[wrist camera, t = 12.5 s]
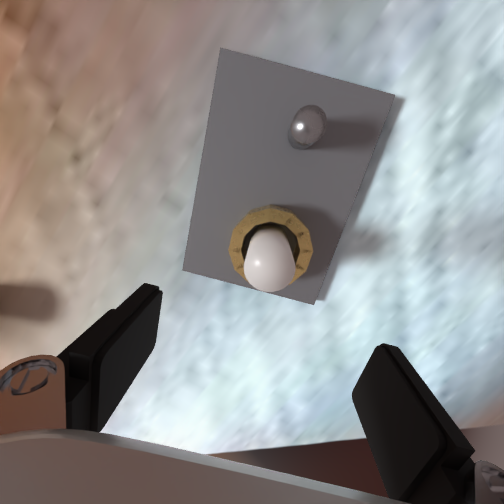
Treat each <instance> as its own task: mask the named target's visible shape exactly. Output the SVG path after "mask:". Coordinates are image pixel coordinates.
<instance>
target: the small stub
mask: <svg viewBox="0 0 504 504" xmlns="http://www.w3.org/2000/svg"><path fill="white" fill-rule="evenodd" d="M326 128H327V117H326V114H325V112H324V111H323V110H322V109H321V108H320V107H318V106H316V105H306V106H304V107H302V108H301V109H299V110H298V111H297V113H296V114H295V116H294V118H293V120H292V123H291V125H290V128H289V131H288V141H289V143H290V145H291V146H292V147H293V148H295V149H298V150H303V149H306V148H308V147H309V146H311V145H312V144H313V143H315V142H316V141H318V140H319V139H320V138H321V137H322V136H323V135H324V133H325V131H326Z"/></svg>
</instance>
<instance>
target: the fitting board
mask: <svg viewBox="0 0 504 504" xmlns="http://www.w3.org/2000/svg"><path fill="white" fill-rule="evenodd" d="M394 97H395V95H394V94H390V93H386V92H382V91H379V90H375V89H371V88H368V87H364V86H360V85H357V84H353V83H349V82H346V81H342V80H338V79H334V78H331V77H327V76H323V75H320V74H316V73H312V72H309V71H305V70H301V69H298V68H294V67H290V66H287V65H283V64H279V63H275V62H272V61H268V60H264V59H261V58H257V57H253V56H250V55H246V54H242V53H239V52H235V51H231V50H227V49H224V48H220V54H219V59H218V65H217V71H216V77H215V83H214V89H213V94H212V100H211V106H210V112H209V118H208V124H207V130H206V135H205V141H204V147H203V153H202V159H201V165H200V170H199V176H198V182H197V188H196V194H195V200H194V205H193V211H192V217H191V223H190V229H189V235H188V241H187V246H186V252H185V258H184V264H183V271H187V272H191V273H195V274H198V275H202V276H206V277H210V278H213V279H217V280H221V281H225V282H229V283H232V284H236V285H240V286H244V287H248V288H251V289H255V290H258V289H256V288H255V287H253V286H252V285H251V284H249V283H248V282H247V281H246V280H245V279H244V278H243V277H242V276H241V275H240V274H239V273H237V272H236V271H235V270H234V267H233V263H232V260H231V257H230V254H229V251H228V249H229V245H230V241H231V236H232V232H233V229H234V228H235V226H236V225H237V223H238V222H239V221H240V220H241V219H242V218H243V217H244V216H245V215H246V214H247V213H248V212H249V211H250V210H251V209H255V208H259V207H262V206H266V205H270V204H272V205H275V206H279V207H283V208H287V209H290V210H291V211H292V212H293V213H294V214H295V215H296V216H297V217H298V218H299V219H300V220H301V221H302V222H303V223H304V224H305V225H306V227H307V228H308V230H309V234H310V238H311V243H312V248H313V253H312V256H311V259H310V262H309V265H308V267H307V270H306V272H304V273H303V274H302V275H301V276H300V277H299V278H297V279H296V280H295V281H294V282H293V283H292V284H290V285H287V286H286V287H285V288H283V289H281V290H279V291H275V292H266V293H270V294H274V295H278V296H282V297H285V298H289V299H293V300H297V301H301V302H304V303H308V304H312V305H314V304H315V301H316V298H317V296H318V293H319V291H320V288H321V285H322V283H323V280H324V278H325V275H326V273H327V270H328V267H329V265H330V262H331V260H332V257H333V255H334V252H335V249H336V247H337V244H338V242H339V239H340V236H341V234H342V231H343V229H344V226H345V224H346V221H347V218H348V216H349V213H350V211H351V208H352V205H353V203H354V200H355V198H356V195H357V193H358V190H359V187H360V185H361V182H362V180H363V177H364V174H365V172H366V169H367V167H368V164H369V162H370V159H371V156H372V154H373V151H374V149H375V146H376V143H377V141H378V138H379V136H380V133H381V131H382V128H383V125H384V123H385V120H386V118H387V115H388V112H389V110H390V107H391V105H392V102H393V100H394ZM306 105H316V106H318V107H320V108H321V109H322V110H323V111H324V112H325V114H326V117H327V128H326V131H325V133H324V135H323V136H322V137H321V138H320V139H319V140H318V141H316V142H315V143H313V144H312V145H311V146H309V147H308V148H306V149H303V150H298V149H295V148H293V147H292V146H291V145H290V143H289V141H288V131H289V128H290V125H291V123H292V120H293V118H294V116H295V114H296V113H297V111H298V110H299V109H301V108H302V107H304V106H306ZM263 224H275V225H278V226H279V227H281V228H282V229H283V230H284V232H285V233H286V236H287V239H288V242H289V245H290V249H291V252H292V255H293V253H294V250H295V247H296V244H297V241H296V236H295V234H294V233H293V232H292V231H291V230H290V229H289V228H288V227H287V226H286V225H282V224H279V223H275V222H271V221H270V222H266V223H262V224H259V225H255V226H254V227H253V228H252V229H251V230H250V231H249V232H248V233H247V234H246V236H245V240H244V244H245V247H246V251H248V248H249V244H250V240H251V237H252V234H253V232H254V231H255V230H256V229H257V228H258V227H259V226H261V225H263ZM259 291H261V290H259ZM263 292H264V291H263Z"/></svg>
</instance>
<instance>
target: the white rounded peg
mask: <svg viewBox="0 0 504 504" xmlns="http://www.w3.org/2000/svg"><path fill="white" fill-rule="evenodd" d="M244 274H245V277H246V279H247V280H248V282H249V283H250V284H251V285H252V286H253V287H255V288H256V289H258V290H261V291H264V292H275V291H279V290H281V289H283V288H285V287H286V286H287V285H288V284H289V283H290V282H291V281H292V279H293V277H294V275H295V262H294V258H293V255H292V252H291V249H290V245H289V242H288V239H287V236H286V233H285V232H284V230H283V229H282V228H281V227H279V226H278V225H275V224H263V225H261V226H259V227H258V228H257V229H256V230H255V231H254V232H253V234H252V237H251V240H250V244H249V248H248V251H247V255H246V259H245V262H244Z"/></svg>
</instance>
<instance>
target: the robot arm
mask: <svg viewBox="0 0 504 504" xmlns="http://www.w3.org/2000/svg"><path fill="white" fill-rule="evenodd" d="M162 295H163V292H162V291H161V290H159V287H158V286H155V285H151V284H147V283H144V284H143V285H142V286H140V287H139V288H138V289H137V290H136V291H135V292H134V293H133V294H132V295H131V296H129V297H128V298H127V299H126V300H125V301H124V302H123V303H122V304H121V305H120V306H119V307H117V308H116V309H111V310H109V311H108V312H107V313H105V314H104V315H103V316H102V317H101V318H100V319H99V320H97V321H96V322H95V323H94V324H93V325H92V326H91V327H90V328H88V329H87V330H86V331H85V332H84V333H83V334H82V335H80V336H79V337H78V338H77V339H76V340H75V341H74V342H73V343H71V344H70V345H69V346H68V347H67V348H66V349H65V350H63V351H62V352H61V353H60V354H59V355H58V356H57V357H55V356H52V355H36V356H30V357H27V358H23V359H20V360H18V361H16V362H14V363H12V364H10V365H8V366H7V367H5V368H4V369H2V370H1V371H0V504H504V470H502V469H501V468H499V467H498V466H496V465H494V464H492V463H489V462H487V461H482V460H480V461H477V462H476V463H474V462H473V461H472V459H471V458H470V457H471V455H472V454H473V453H474V452H475V450H474V448H473V447H472V446H471V445H470V443H469V442H468V440H467V439H466V438H465V436H464V435H463V433H462V432H461V431H460V429H459V428H458V427H457V425H456V424H455V423H454V421H453V420H452V419H451V417H450V416H449V415H448V413H447V412H446V411H445V409H444V408H443V407H442V405H441V404H440V403H439V401H438V400H437V399H436V397H435V396H434V394H433V393H432V392H431V390H430V389H429V388H428V386H427V385H426V384H425V382H424V381H423V380H422V378H421V377H420V376H419V374H418V373H417V372H416V370H415V369H414V368H413V366H412V365H411V364H410V362H409V361H408V360H407V358H406V357H405V356H404V354H403V353H402V351H401V350H400V349H399V348H398V347H396V346H392V345H388V344H384V343H383V344H381V345H380V346H377V347H376V348H375V349H374V351H373V353H372V355H371V357H370V359H369V361H368V363H367V365H366V366H365V368H364V370H363V372H362V374H361V376H360V378H359V380H358V382H357V384H356V385H355V387H354V389H353V392H352V400H353V403H354V405H355V408H356V411H357V414H358V416H359V419H360V422H361V424H362V427H363V430H364V432H365V435H366V438H367V440H368V443H369V446H370V448H371V451H372V453H373V456H374V459H375V462H376V464H377V467H378V470H379V473H380V475H381V478H382V480H383V483H384V486H385V489H386V491H387V494H388V496H389V498H390V499H389V498H385V497H381V496H377V495H373V494H369V493H365V492H361V491H356V490H352V489H348V488H344V487H340V486H336V485H332V484H327V483H323V482H319V481H315V480H311V479H306V478H302V477H298V476H294V475H289V474H285V473H281V472H277V471H272V470H268V469H264V468H260V467H255V466H251V465H247V464H242V463H238V462H234V461H230V460H225V459H221V458H216V457H212V456H208V455H204V454H199V453H195V452H191V451H186V450H182V449H178V448H173V447H169V446H164V445H160V444H155V443H150V442H145V441H141V440H136V439H131V438H126V437H121V436H117V435H112V434H106V433H99V432H100V431H101V430H102V429H103V427H104V426H105V424H106V423H107V421H108V420H109V418H110V417H111V415H112V413H113V412H114V410H115V409H116V407H117V406H118V404H119V402H120V401H121V399H122V398H123V396H124V395H125V393H126V391H127V390H128V388H129V387H130V385H131V384H132V382H133V380H134V379H135V377H136V376H137V374H138V373H139V371H140V370H141V368H142V366H143V365H144V363H145V362H146V360H147V359H148V357H149V355H150V354H151V352H152V351H153V349H154V346H155V343H156V337H157V330H158V323H159V316H160V309H161V302H162Z"/></svg>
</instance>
